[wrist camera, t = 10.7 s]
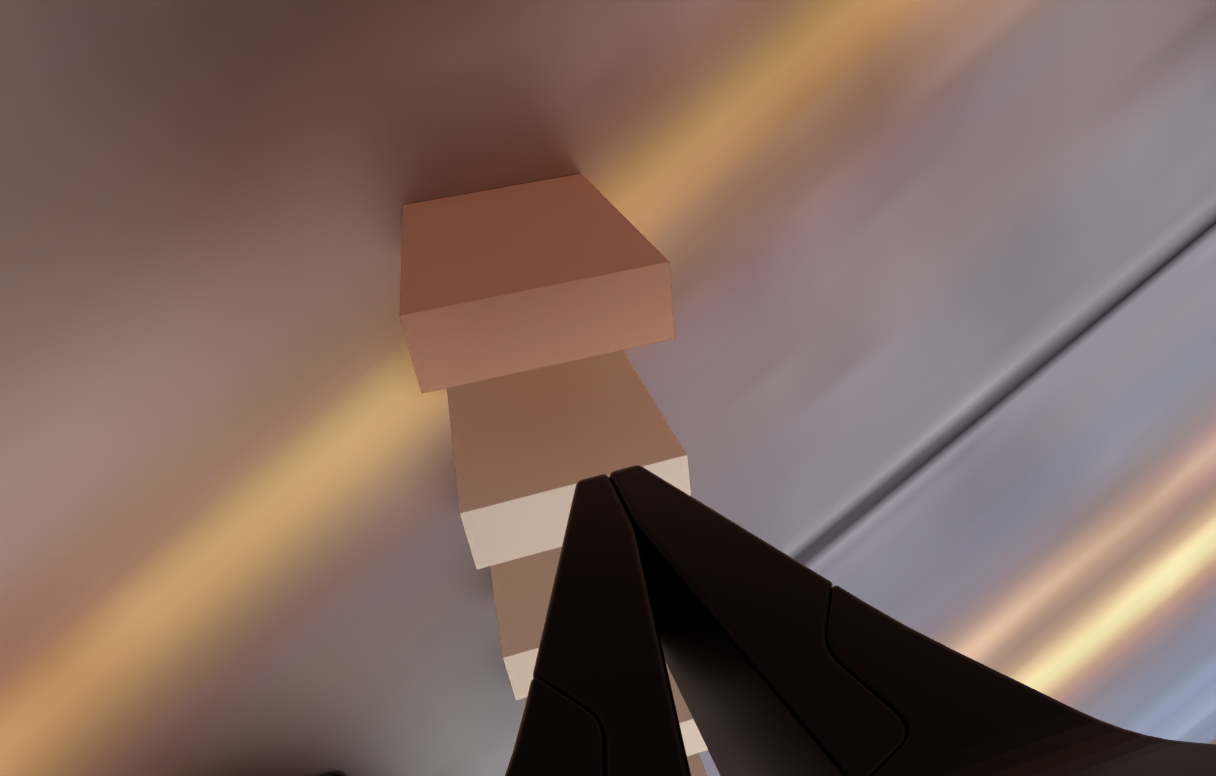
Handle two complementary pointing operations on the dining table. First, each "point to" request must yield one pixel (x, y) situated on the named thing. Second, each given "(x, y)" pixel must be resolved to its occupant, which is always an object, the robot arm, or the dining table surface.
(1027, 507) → the dining table surface
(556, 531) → the domino
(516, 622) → the domino
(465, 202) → the domino
